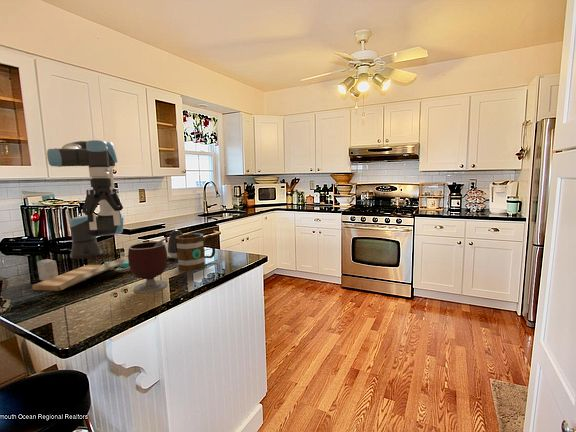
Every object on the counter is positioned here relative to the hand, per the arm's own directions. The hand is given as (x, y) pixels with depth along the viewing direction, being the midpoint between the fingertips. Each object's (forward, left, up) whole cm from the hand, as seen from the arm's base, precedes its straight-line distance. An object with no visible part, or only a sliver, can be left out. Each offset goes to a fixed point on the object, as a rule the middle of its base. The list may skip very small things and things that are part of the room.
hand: (106, 227), depth 134 cm
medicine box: (+4, -28, -23) cm, 36 cm away
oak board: (+2, -17, -23) cm, 28 cm away
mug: (-20, +31, -23) cm, 43 cm away
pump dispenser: (-34, +13, -23) cm, 43 cm away
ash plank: (+2, -5, -20) cm, 20 cm away
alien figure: (-26, -7, -23) cm, 36 cm away
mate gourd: (+10, +26, -23) cm, 36 cm away
